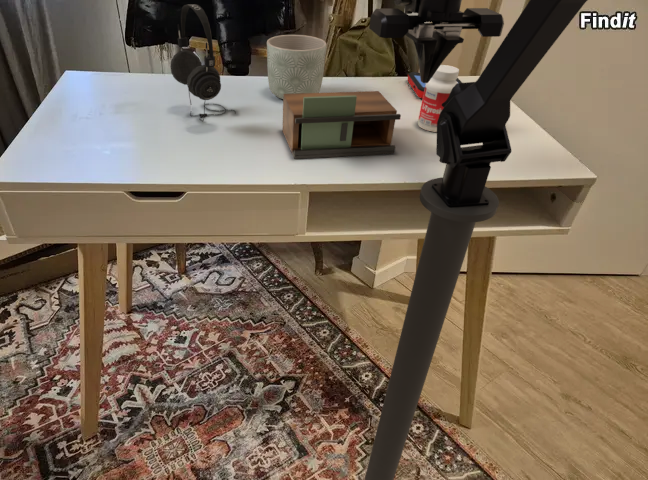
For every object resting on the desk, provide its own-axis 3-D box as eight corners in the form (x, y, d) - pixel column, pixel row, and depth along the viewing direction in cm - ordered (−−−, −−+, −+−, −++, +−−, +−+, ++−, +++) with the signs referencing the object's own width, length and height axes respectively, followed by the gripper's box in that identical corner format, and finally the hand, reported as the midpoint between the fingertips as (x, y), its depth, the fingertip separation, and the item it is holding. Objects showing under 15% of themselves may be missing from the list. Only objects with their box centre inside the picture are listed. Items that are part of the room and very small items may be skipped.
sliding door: (351, 148, 87) (357, 97, 81) (301, 151, 86) (304, 98, 80) (349, 146, 88) (355, 95, 82) (300, 149, 86) (303, 96, 81)
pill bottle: (412, 128, 97) (424, 69, 90) (423, 118, 102) (434, 61, 95) (443, 135, 95) (458, 75, 88) (453, 125, 99) (467, 67, 92)
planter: (280, 108, 103) (281, 52, 97) (257, 89, 112) (257, 36, 105) (332, 101, 108) (337, 47, 101) (307, 83, 116) (310, 32, 110)
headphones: (253, 126, 96) (252, 10, 83) (198, 136, 91) (188, 16, 79) (221, 100, 106) (216, -6, 93) (170, 108, 101) (157, -2, 89)
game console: (475, 102, 109) (478, 92, 108) (417, 101, 109) (419, 91, 108) (457, 81, 121) (459, 71, 119) (404, 80, 120) (406, 70, 119)
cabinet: (394, 154, 88) (401, 115, 84) (294, 159, 85) (296, 119, 81) (373, 127, 97) (378, 90, 93) (282, 130, 94) (283, 93, 90)
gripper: (482, -41, 77) (457, 65, 86) (365, -42, 74) (353, 68, 83) (521, -29, 68) (488, 87, 78) (390, -30, 65) (373, 90, 75)
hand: (424, 82), depth 79 cm, fingers closed
